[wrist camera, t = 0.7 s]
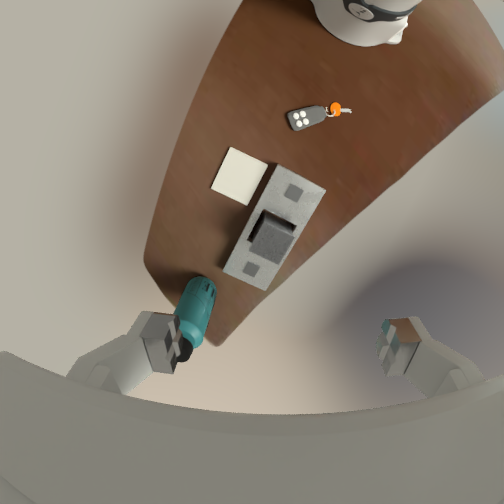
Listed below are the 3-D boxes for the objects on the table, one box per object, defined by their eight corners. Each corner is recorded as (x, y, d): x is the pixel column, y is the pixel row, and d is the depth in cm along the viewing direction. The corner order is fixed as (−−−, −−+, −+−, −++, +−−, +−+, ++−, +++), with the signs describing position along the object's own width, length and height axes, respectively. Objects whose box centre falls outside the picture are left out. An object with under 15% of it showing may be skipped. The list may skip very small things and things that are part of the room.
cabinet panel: (277, 163, 44) (278, 164, 42) (323, 188, 45) (326, 190, 43) (224, 266, 53) (222, 272, 51) (265, 285, 54) (265, 291, 52)
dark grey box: (265, 209, 48) (264, 222, 42) (291, 223, 49) (295, 237, 42) (251, 234, 50) (248, 250, 44) (277, 247, 51) (278, 265, 44)
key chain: (293, 133, 42) (294, 133, 41) (285, 113, 41) (286, 112, 40) (362, 113, 40) (365, 112, 38) (355, 93, 38) (358, 92, 37)
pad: (230, 146, 44) (230, 147, 43) (268, 164, 44) (268, 165, 44) (211, 188, 47) (210, 188, 46) (247, 205, 48) (247, 205, 47)
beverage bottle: (183, 287, 56) (150, 355, 38) (197, 265, 53) (164, 331, 35) (209, 303, 57) (186, 375, 39) (225, 282, 55) (205, 354, 37)
